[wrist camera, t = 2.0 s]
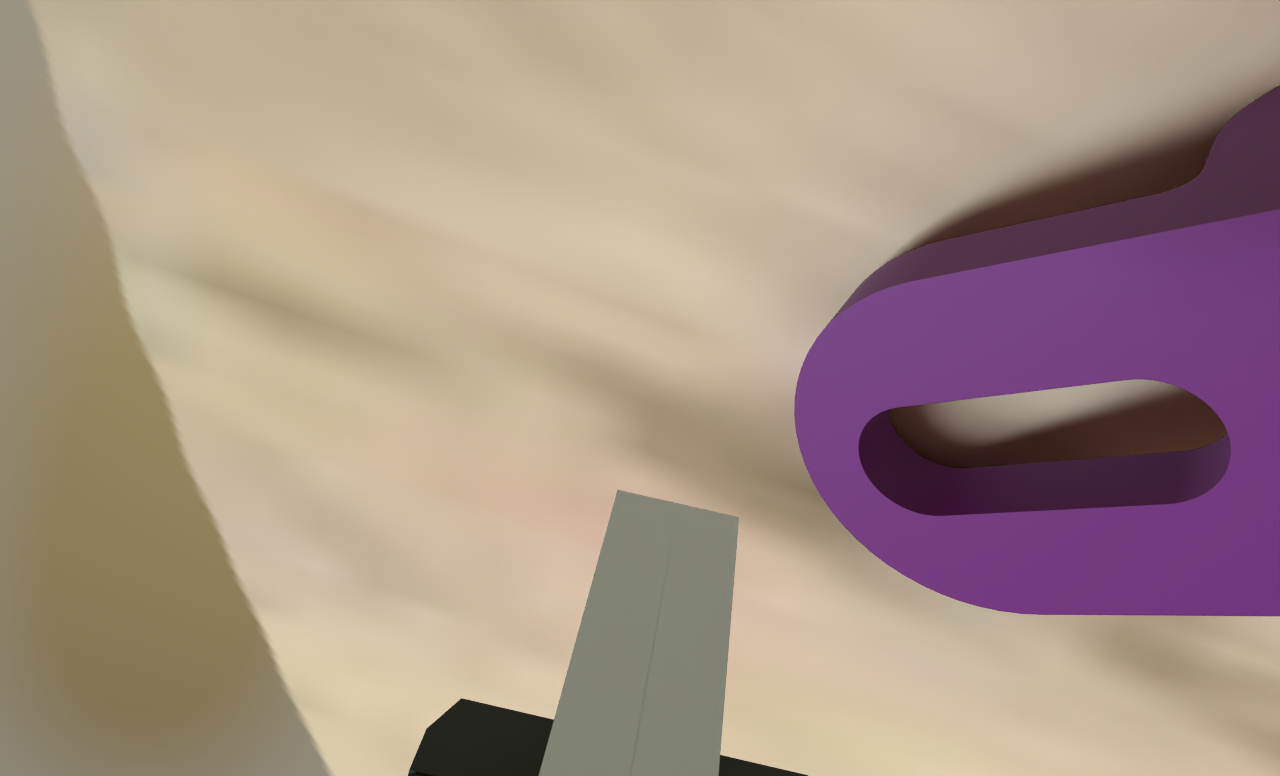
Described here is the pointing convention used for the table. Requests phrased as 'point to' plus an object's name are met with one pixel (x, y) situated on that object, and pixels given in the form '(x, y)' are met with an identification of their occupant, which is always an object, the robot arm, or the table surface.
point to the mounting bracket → (1064, 357)
